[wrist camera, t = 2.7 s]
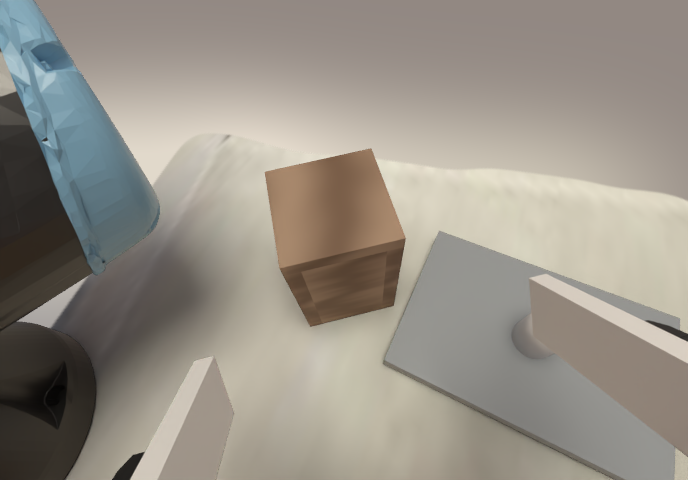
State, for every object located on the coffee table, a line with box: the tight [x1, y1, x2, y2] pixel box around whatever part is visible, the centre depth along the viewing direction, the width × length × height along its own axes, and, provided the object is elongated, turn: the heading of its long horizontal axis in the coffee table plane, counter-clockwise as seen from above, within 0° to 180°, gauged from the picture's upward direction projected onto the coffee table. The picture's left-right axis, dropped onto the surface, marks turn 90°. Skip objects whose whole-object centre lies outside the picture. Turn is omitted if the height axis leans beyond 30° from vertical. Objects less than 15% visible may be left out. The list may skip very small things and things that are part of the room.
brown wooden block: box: [265, 149, 406, 327], centre depth 25 cm, size 7×7×11 cm
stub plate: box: [383, 231, 680, 480], centre depth 22 cm, size 18×12×8 cm, turn 63°
